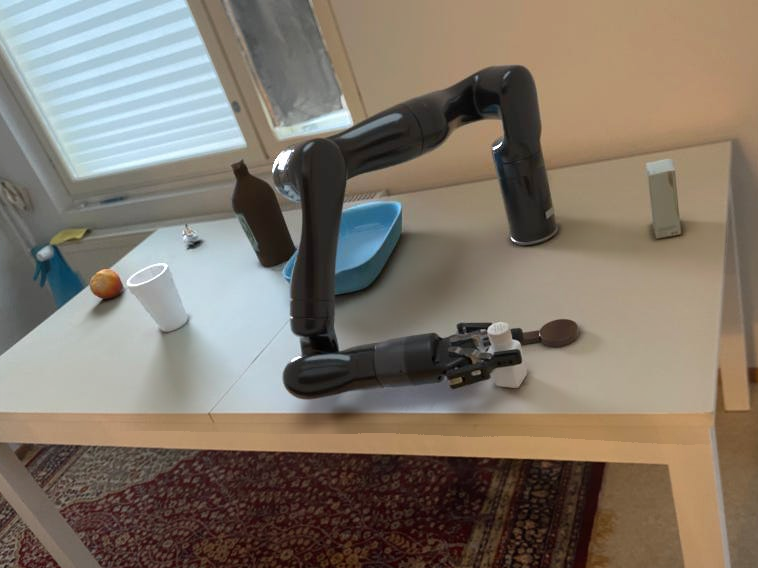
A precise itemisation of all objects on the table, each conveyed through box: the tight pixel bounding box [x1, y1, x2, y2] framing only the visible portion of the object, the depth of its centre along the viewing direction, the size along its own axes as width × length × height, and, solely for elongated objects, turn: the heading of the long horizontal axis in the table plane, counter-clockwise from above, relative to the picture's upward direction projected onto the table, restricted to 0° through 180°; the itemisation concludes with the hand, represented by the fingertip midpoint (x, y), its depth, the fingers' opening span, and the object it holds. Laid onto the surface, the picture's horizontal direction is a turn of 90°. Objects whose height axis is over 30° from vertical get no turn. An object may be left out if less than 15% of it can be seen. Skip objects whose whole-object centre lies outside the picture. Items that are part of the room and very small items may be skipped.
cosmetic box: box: [645, 157, 682, 239], centre depth 124 cm, size 6×4×12 cm
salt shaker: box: [486, 321, 528, 389], centre depth 102 cm, size 4×4×10 cm
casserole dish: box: [281, 200, 403, 296], centre depth 154 cm, size 37×22×7 cm, turn 166°
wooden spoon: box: [473, 318, 580, 351], centre depth 112 cm, size 21×6×1 cm, turn 79°
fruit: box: [89, 268, 125, 300], centre depth 186 cm, size 8×8×8 cm
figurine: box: [182, 223, 199, 246], centre depth 201 cm, size 5×4×6 cm
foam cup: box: [126, 263, 189, 333], centre depth 155 cm, size 10×9×13 cm
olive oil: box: [229, 158, 297, 267], centre depth 167 cm, size 11×11×25 cm
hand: (521, 345), depth 100 cm, fingers closed on salt shaker, 4 cm apart
